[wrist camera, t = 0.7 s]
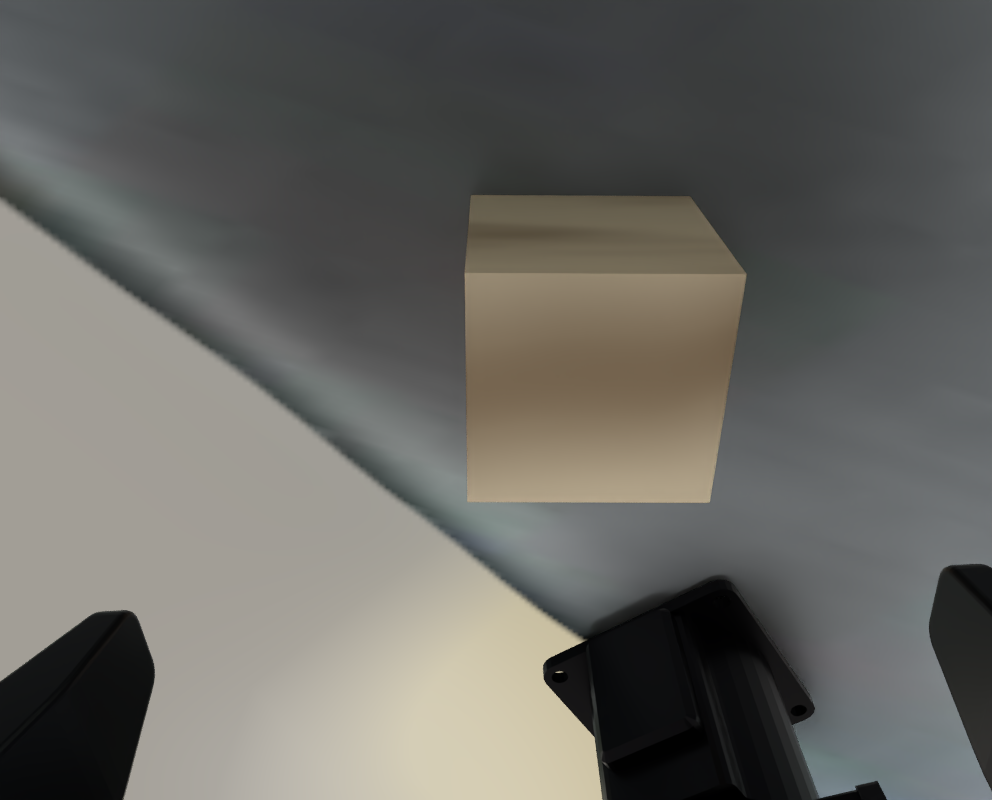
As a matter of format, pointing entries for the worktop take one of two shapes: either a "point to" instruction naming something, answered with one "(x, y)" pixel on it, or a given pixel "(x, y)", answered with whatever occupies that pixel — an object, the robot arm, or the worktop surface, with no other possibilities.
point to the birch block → (596, 348)
